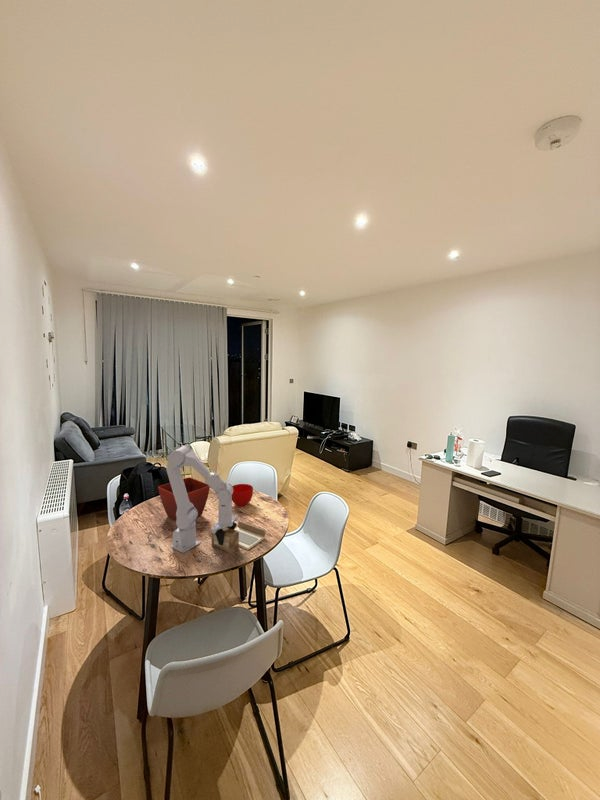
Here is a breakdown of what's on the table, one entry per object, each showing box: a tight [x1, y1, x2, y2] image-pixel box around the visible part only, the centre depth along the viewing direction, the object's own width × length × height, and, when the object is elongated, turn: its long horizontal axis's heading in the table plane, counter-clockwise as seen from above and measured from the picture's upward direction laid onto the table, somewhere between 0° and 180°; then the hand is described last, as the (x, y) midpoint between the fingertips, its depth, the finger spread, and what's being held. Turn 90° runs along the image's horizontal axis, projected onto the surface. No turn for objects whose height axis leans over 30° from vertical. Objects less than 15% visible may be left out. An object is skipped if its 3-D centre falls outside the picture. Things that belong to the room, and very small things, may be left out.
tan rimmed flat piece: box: [234, 520, 266, 551], centre depth 150 cm, size 12×16×4 cm
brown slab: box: [211, 527, 240, 555], centre depth 142 cm, size 4×12×8 cm, turn 59°
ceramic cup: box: [231, 483, 254, 508], centre depth 186 cm, size 13×17×10 cm
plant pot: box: [157, 477, 211, 522], centre depth 169 cm, size 19×19×17 cm
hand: (224, 541), depth 142 cm, fingers closed on brown slab, 5 cm apart
